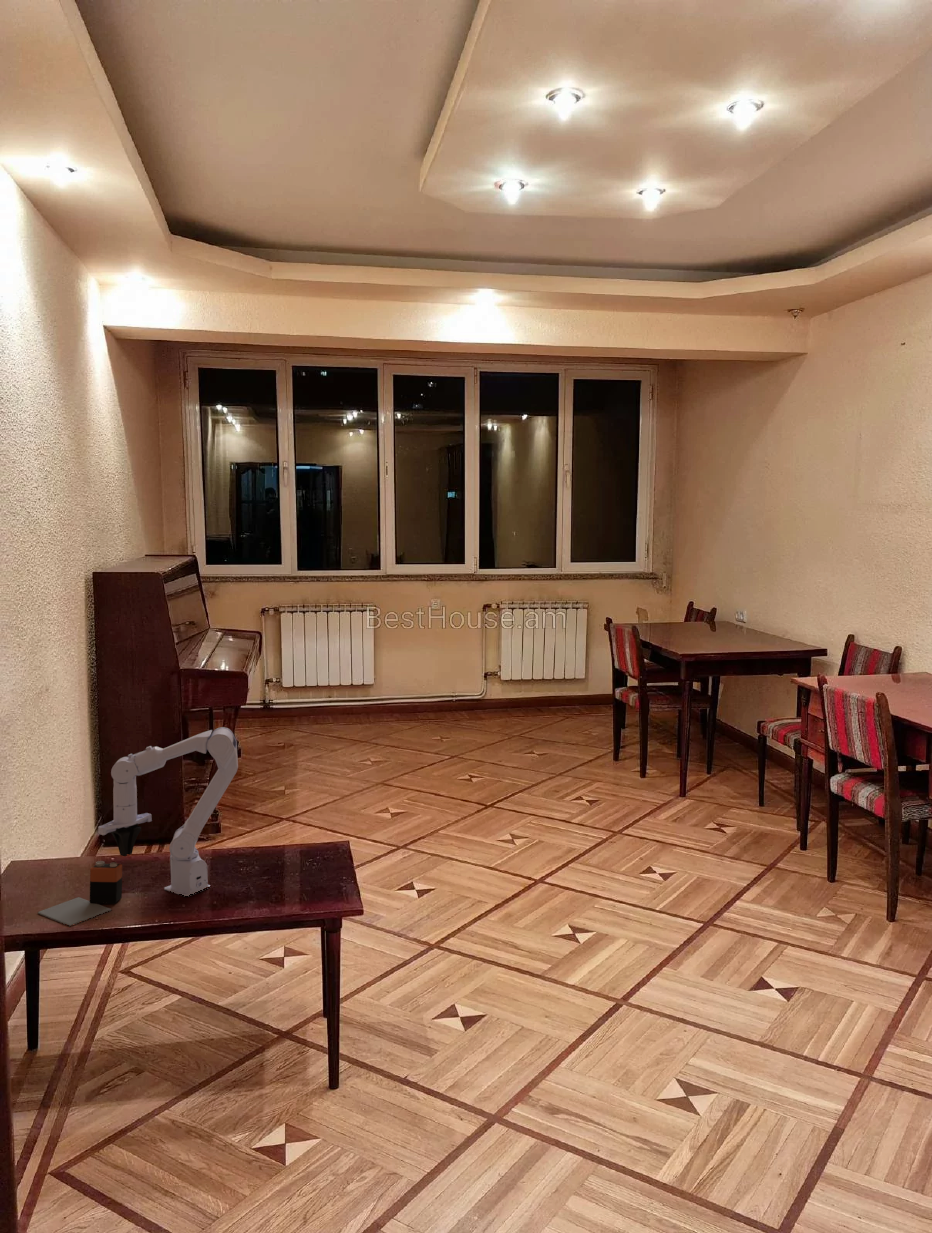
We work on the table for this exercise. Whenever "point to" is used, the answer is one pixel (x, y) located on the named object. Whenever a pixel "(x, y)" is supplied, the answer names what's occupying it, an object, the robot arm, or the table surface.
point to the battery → (106, 883)
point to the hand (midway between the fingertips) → (126, 854)
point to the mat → (74, 911)
